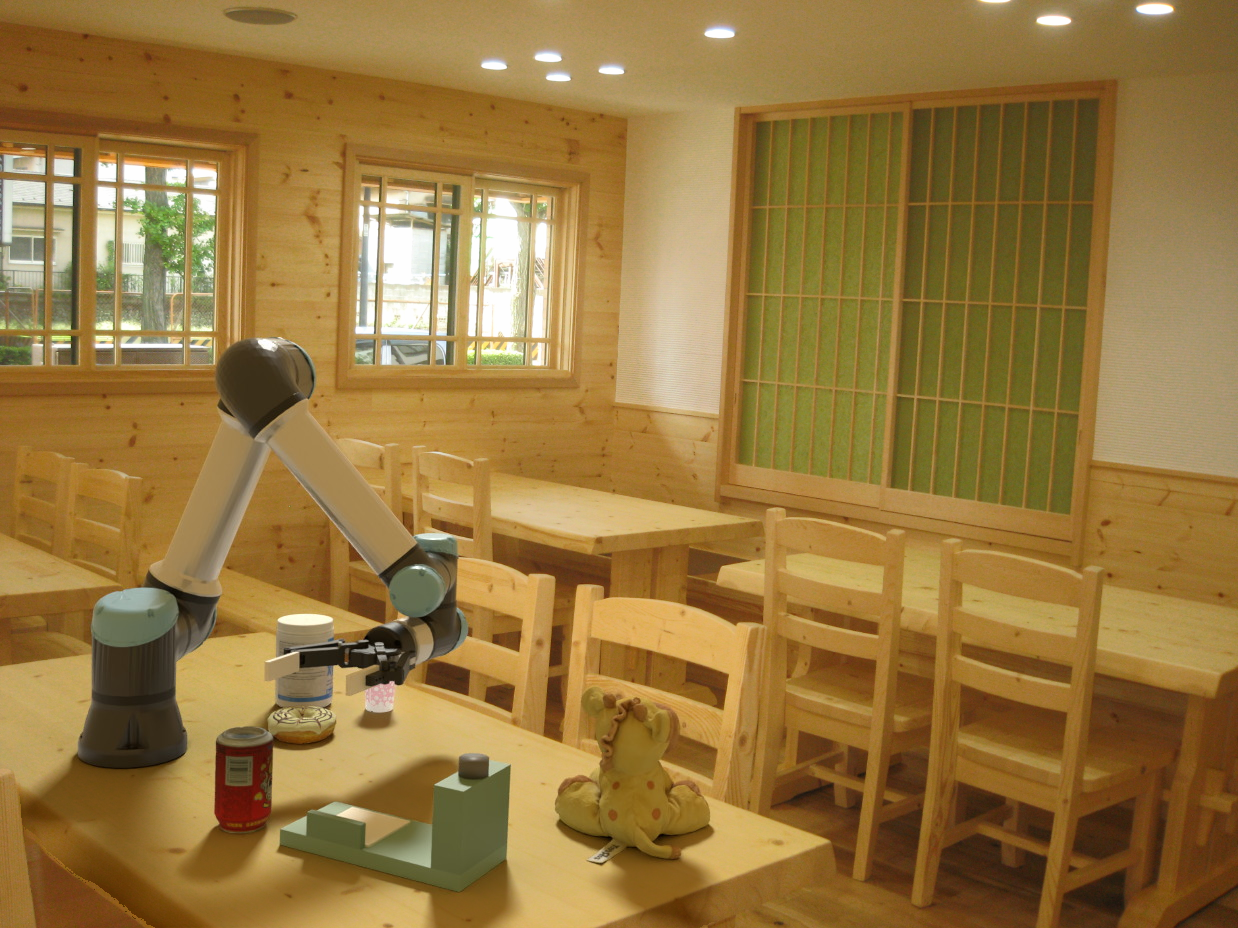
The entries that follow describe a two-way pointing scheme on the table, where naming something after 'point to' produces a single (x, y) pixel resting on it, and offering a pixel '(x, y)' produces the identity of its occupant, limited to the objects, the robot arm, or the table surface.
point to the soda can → (243, 779)
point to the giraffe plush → (631, 780)
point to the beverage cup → (380, 697)
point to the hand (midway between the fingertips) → (306, 678)
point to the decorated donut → (301, 724)
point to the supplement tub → (307, 682)
